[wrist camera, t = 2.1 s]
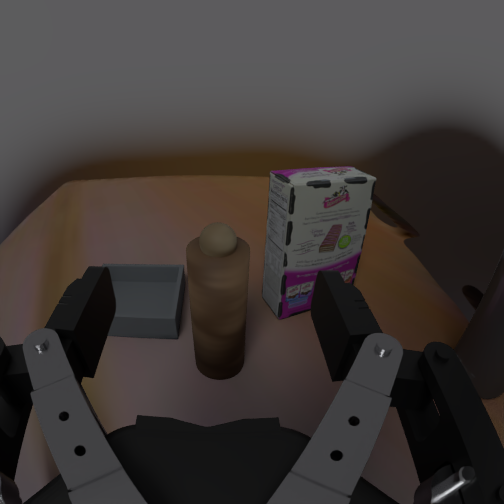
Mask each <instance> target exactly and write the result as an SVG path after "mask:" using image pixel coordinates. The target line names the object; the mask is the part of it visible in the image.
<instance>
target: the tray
mask: <svg viewBox="0 0 504 504" xmlns="http://www.w3.org/2000/svg"><path fill="white" fill-rule="evenodd" d="M102 267H108V268H109V271H110V275H111V280H112V285H113V289H114V294H115V298H116V312H115V316H114V319H113V322H112V324H111V327H110V330H109V333H108V336H121V337H138V338H160V339H178V333H179V326H180V318H181V311H182V303H183V296H184V290H185V274H184V265H146V264H103V265H102Z"/></svg>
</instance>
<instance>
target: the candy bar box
mask: <svg viewBox="0 0 504 504" xmlns="http://www.w3.org/2000/svg"><path fill="white" fill-rule="evenodd" d="M375 181H376V178H375V177H373V176H370V175H369V174H366V173H365V172H363V171H360V170H357V169H356V168H354V167H350V166H348V167H322V168H305V169H290V170H278V171H271V172H270V183H269V201H268V217H267V235H266V246H265V262H264V276H263V290H262V298H263V299H264V301H265V302H266V303H267V304H268V306H269V307H270V308H271V309H272V311H273V312H274V314H275V315H276V316H277V318H278V319H284V318H287V317H290V316H294V315H297V314H300V313H303V312H306V311H309V310H311V300H312V296H313V291H314V286H315V282H316V277H317V273H318V271H320V270H338V271H339V272H340V274H341V276H342V278H343V280H344V281H345V283H351V284H352V285H353V284H354V279H355V276H356V272H357V268H358V263H359V259H360V255H361V251H362V246H363V241H364V237H365V233H366V228H367V223H368V219H369V214H370V208H371V203H372V198H373V193H374V187H375Z"/></svg>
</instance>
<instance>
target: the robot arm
mask: <svg viewBox="0 0 504 504" xmlns="http://www.w3.org/2000/svg"><path fill="white" fill-rule="evenodd" d="M115 312H116V298H115V294H114V289H113V285H112V280H111V275H110V271H109V268H108V267H95V266H90V267H88V268H87V270H86V272H85V273H84V275H83V277H82V279H76V280H75V281H74V282H73V283H71V284H70V285H69V286H68V287H67V289H66V291H65V292H64V294H63V297H61V299H60V301H59V304H57V306H56V308H55V310H54V311H53V313H52V315H51V317H50V319H49V321H48V322H47V324H46V326H45V328H43V329H38V330H36V331H34V332H32V333H31V334H29V335H28V336H27V337H26V339H25V340H24V343H23V344H19V345H12V346H6V345H5V343H4V341H3V340H2V338H1V337H0V504H22V499H21V498H20V495H19V490H18V487H17V485H16V483H15V482H14V479H15V473H16V468H17V464H18V459H19V455H20V450H21V446H22V442H23V438H24V434H25V430H26V426H27V423H28V419H29V416H30V412H31V409H32V406H33V404H34V408H35V411H36V414H37V416H38V419H39V422H40V425H41V428H42V430H43V433H44V436H45V438H46V441H47V443H48V446H49V448H50V451H51V453H52V455H53V458H54V460H55V462H56V465H57V467H58V469H59V471H60V474H59V475H58V476H57V477H55V478H54V479H53V480H52V481H51V482H49V483H48V484H47V485H46V486H44V487H43V488H42V489H41V490H39V491H38V492H37V493H36V494H34V495H33V496H32V497H31V498H29V499H28V500H27V501H26V502H24V503H23V504H399V503H398V502H396V501H395V500H393V499H392V498H390V497H389V496H387V495H386V494H385V493H383V492H382V491H380V490H379V489H378V488H376V487H375V486H373V485H372V484H371V483H369V482H368V481H367V480H365V479H364V478H362V477H361V473H362V471H363V469H364V467H365V465H366V463H367V460H368V458H369V456H370V454H371V451H372V449H373V447H374V444H375V442H376V440H377V437H378V435H379V432H380V430H381V427H382V425H383V422H384V419H385V417H386V414H387V411H388V408H389V406H390V407H396V409H397V411H398V414H399V417H400V420H401V423H402V426H403V429H404V432H405V435H406V438H407V442H408V445H409V448H410V451H411V454H412V458H413V461H414V464H415V467H416V471H417V474H418V478H419V481H420V485H419V486H418V487H417V489H416V491H415V494H414V503H413V504H504V448H503V446H502V444H501V441H500V439H499V437H498V434H497V432H496V430H495V428H494V426H493V423H492V421H491V419H490V417H489V415H488V413H487V411H486V409H485V407H484V405H483V403H482V401H481V399H480V398H484V399H492V398H496V397H498V396H500V395H501V394H502V393H504V250H503V253H502V256H501V258H500V261H499V263H498V265H497V267H496V270H495V272H494V274H493V277H492V279H491V281H490V283H489V285H488V287H487V290H486V292H485V294H484V296H483V298H482V300H481V302H480V304H479V306H478V308H477V310H476V312H475V314H474V315H473V317H472V319H471V321H470V323H469V325H468V326H467V328H466V330H465V332H464V333H463V335H462V337H461V339H460V340H459V342H458V344H457V346H456V347H455V349H454V350H453V349H452V348H451V347H450V346H448V345H446V344H444V343H441V342H431V343H429V344H427V345H426V347H425V349H424V351H423V352H419V351H412V350H406V349H402V346H401V344H400V343H399V342H398V341H397V340H396V339H395V338H393V337H392V336H390V335H387V334H383V332H382V331H381V329H380V327H379V325H378V323H377V321H376V319H375V317H374V316H373V314H372V312H371V310H370V309H369V306H368V305H367V303H366V302H365V299H364V297H363V296H362V294H361V292H360V291H359V290H358V289H357V288H356V287H355V286H354V285H352V284H351V283H345V281H344V280H343V278H342V276H341V274H340V272H339V271H338V270H320V271H318V273H317V277H316V282H315V286H314V291H313V296H312V300H311V317H312V320H313V323H314V326H315V329H316V332H317V335H318V338H319V341H320V344H321V348H322V351H323V354H324V357H325V360H326V363H327V366H328V369H329V372H330V376H331V379H332V382H334V381H343V383H342V385H341V387H340V389H339V391H338V393H337V395H336V396H335V398H334V400H333V402H332V404H331V405H330V407H329V409H328V411H327V413H326V414H325V416H324V418H323V420H322V421H321V423H320V425H319V426H318V428H317V430H316V432H315V433H314V435H313V436H312V438H310V437H309V436H307V435H305V434H303V433H301V432H298V431H296V430H293V429H289V428H285V427H280V424H279V418H278V417H277V418H258V419H242V420H237V421H233V422H229V423H225V424H220V425H215V426H211V427H204V426H200V425H196V424H192V423H188V422H184V421H181V420H177V419H173V418H166V417H153V416H142V415H137V419H136V425H130V426H126V427H122V428H120V429H117V430H115V431H113V432H111V433H109V434H107V432H106V431H105V429H104V427H103V425H102V424H101V422H100V420H99V418H98V416H97V415H96V413H95V411H94V409H93V407H92V405H91V403H90V401H89V399H88V397H87V395H86V393H85V391H84V389H83V387H82V385H81V382H82V379H83V377H90V378H94V375H95V372H96V369H97V366H98V363H99V360H100V356H101V353H102V350H103V347H104V344H105V341H106V339H107V336H108V333H109V330H110V327H111V324H112V322H113V319H114V316H115ZM433 399H434V401H435V404H436V406H437V408H438V411H439V413H438V411H437V409H436V406H435V404H434V401H433ZM439 414H440V416H439Z"/></svg>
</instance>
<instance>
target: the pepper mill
mask: <svg viewBox="0 0 504 504" xmlns="http://www.w3.org/2000/svg"><path fill="white" fill-rule="evenodd" d="M186 256H187V271H188V285H189V297H190V309H191V320H192V330H193V340H194V350H195V359H196V365H197V368H198V370H199V371H200V372H201V373H202V374H203V375H205V376H207V377H209V378H212V379H217V380H223V379H228V378H231V377H233V376H235V375H237V374H238V373H239V372H240V371H241V369H242V367H243V364H244V348H245V330H246V312H247V295H248V277H249V260H250V247H249V245H248V244H247V242H245V241H244V240H243V239H241V238H239V237H236V234H235V232H234V231H233V229H232V228H231V227H230V226H228V225H226V224H224V223H212V224H210V225H208V226H207V227H205V228H204V230H203V231H202V233H201V235H200V237H197V238H195V239H194V240H192V241H191V242H190V243H189V244H188V245H187V248H186Z"/></svg>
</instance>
